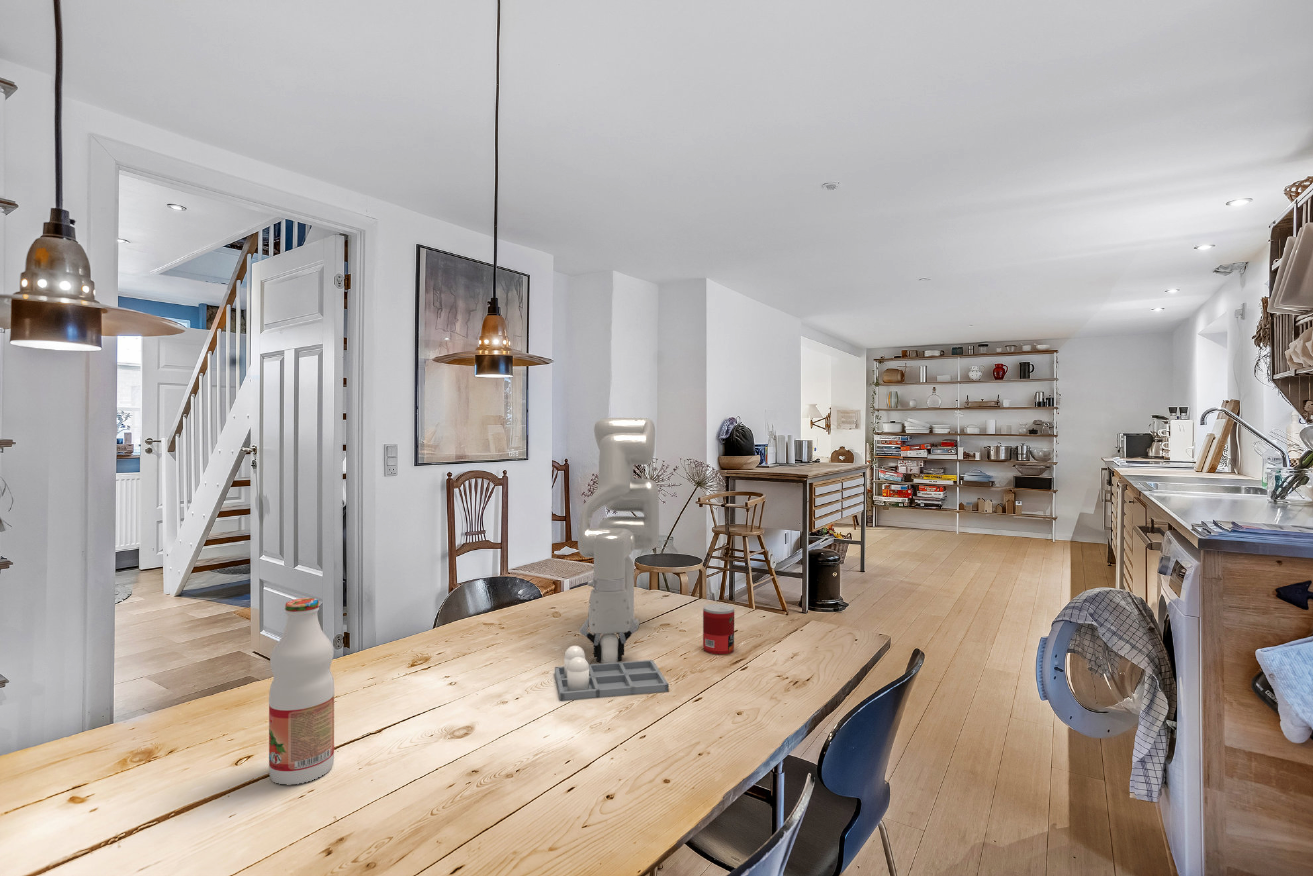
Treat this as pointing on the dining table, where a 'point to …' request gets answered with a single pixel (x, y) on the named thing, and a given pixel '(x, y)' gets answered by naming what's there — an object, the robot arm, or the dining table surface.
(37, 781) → the dining table surface
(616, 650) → the loose egg
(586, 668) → the seated egg
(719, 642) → the canned food
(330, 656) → the fruit juice
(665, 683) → the egg carton
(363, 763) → the dining table surface
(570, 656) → the seated egg
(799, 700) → the dining table surface
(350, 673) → the dining table surface
